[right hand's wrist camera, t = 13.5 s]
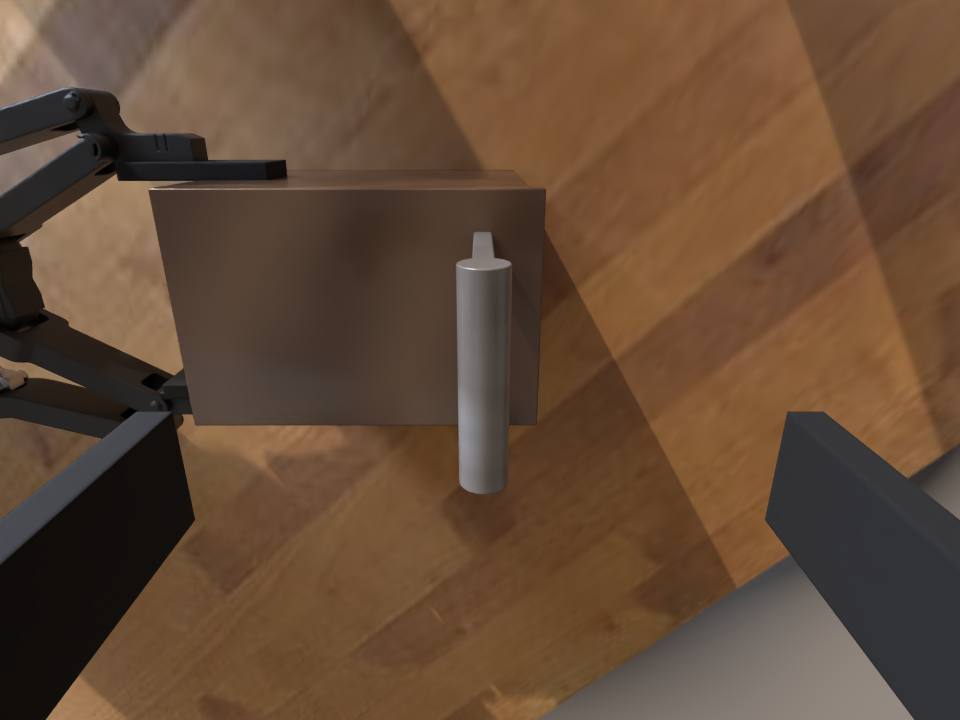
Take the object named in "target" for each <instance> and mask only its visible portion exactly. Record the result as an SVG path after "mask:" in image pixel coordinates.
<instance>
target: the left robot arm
mask: <svg viewBox="0 0 960 720" xmlns="http://www.w3.org/2000/svg"><path fill="white" fill-rule="evenodd" d="M119 113H120V105H119V102H118V100H117V99H116V97H115V96H114V95H112V94H111V93H109V92H106V91H98V90H90V89H81V88H73V87H67V88H62V89H59V90H56V91H53V92H50V93H47V94H44V95H41V96H38V97H34V98H31V99H28V100H25V101H22V102H19V103H16V104H13V105H10V106H7V107H4V108H1V109H0V155H3V154H6V153H9V152H12V151H15V150H18V149H21V148H25V147H28V146H31V145H34V144H37V143H40V142H44V141H47V140H50V139H53V138H56V137H59V136H62V135H66V134H69V133H72V132H75V131H78V130H80V131H81V133H82V134H79V135H76V136H77V137H78V138H84V139H82V140H81V141H79V142H78V143H76V144H75V145H73V146H72V147H71V148H69V149H68V150H66V151H65V152H63V153H62V154H60V155H59V156H57V157H56V158H55V159H53V160H52V161H50V162H49V163H47V164H46V165H44V166H43V167H42V168H40V169H39V170H37V171H36V172H34V173H33V174H31V175H30V176H29V177H27V178H26V179H24V180H23V181H21V182H20V183H18V184H17V185H16V186H14V187H13V188H11V189H10V190H8V191H7V192H5V193H4V194H3V195H1V196H0V356H1V357H3V358H6V359H8V360H10V361H13V362H19V363H20V362H29V363H33V364H35V365H37V366H39V367H42V368H44V369H46V370H48V371H50V372H53V373H55V374H57V375H59V376H62V377H64V378H66V379H68V380H71V381H73V382H75V383H77V384H79V385H82V386H84V387H86V388H84V387H80V386H76V385H71V384H67V383H63V382H59V381H54V380H49V379H42V378H28V374H27V373H26V372H25V371H23V370H19V371H17V372H16V371H13V370H8V369H5V368H2V367H1V366H0V418H15V419H19V420H24V421H28V422H33V423H37V424H41V425H46V426H50V427H54V428H59V429H63V430H67V431H72V432H76V433H80V434H85V435H89V436H94V437H98V438H102V439H103V438H104V437H105V436H107V435H108V434H109V433H111V432H112V431H113V430H114V429H116V428H117V427H118V426H119V425H121V424H122V423H123V422H124V421H126V420H127V419H128V418H129V417H131V416H132V415H133V414H134V413H136V412H173V416H174V421H175V426H176V430H177V429H178V428H179V427H180V426H181V425H182V424H183V421H184V419H183V416H182V414H193V412H192V407H191V402H190V397H189V392H188V387H187V382H186V376H185V371H184V369H182V370H181V371H180V372H178V373H177V374H176V375H175V376H174V375H172V374H169V373H167V372H165V371H163V370H161V369H159V368H157V367H154V366H152V365H150V364H148V363H146V362H144V361H141V360H139V359H137V358H135V357H133V356H131V355H129V354H126V353H124V352H122V351H120V350H118V349H116V348H114V347H111V346H109V345H107V344H105V343H103V342H101V341H99V340H96V339H94V338H92V337H90V336H88V335H86V334H83V333H81V332H79V331H77V330H75V329H73V328H71V327H69V325H68V321H67V320H65V319H64V318H62V317H59V316H57V315H55V314H53V313H51V312H49V311H47V310H45V309H43V308H45V306H44V303H43V299H42V296H41V293H40V291H39V289H38V287H37V285H36V284H35V282H34V280H33V278H32V260H31V256H30V253H29V249H28V247H22V246H21V244H20V243H19V242H20V241H22V240H23V239H25V238H26V237H28V236H29V235H31V234H32V233H34V232H35V231H37V230H38V229H40V228H41V227H42V226H43V225H42V223H44V222H45V221H47V220H48V219H50V218H51V217H53V216H54V215H56V214H57V213H59V212H60V211H62V210H63V209H65V208H66V207H68V206H69V205H71V204H72V203H74V202H75V201H77V200H78V199H80V198H81V197H83V196H84V195H86V194H87V193H89V192H90V191H92V190H93V189H94V188H96V187H97V186H99V185H100V184H102V183H103V182H105V181H106V180H108V179H109V178H111V177H112V176H114V175H115V174H117V178H118V181H199V180H271V179H276V178H281V177H285V176H287V168H286V160H208V156H207V149H206V143H205V138H203V137H200V136H198V135H195V134H141V133H136V132H133V131H132V130H130V129H129V128H128V127H127V126H126V125H125V124H124V122H123V120H122V119H121V117H120V115H119Z"/></svg>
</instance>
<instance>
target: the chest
mask: <svg viewBox="0 0 960 720" xmlns="http://www.w3.org/2000/svg"><path fill="white" fill-rule="evenodd" d="M168 186H527V185H526V184H525V183H524V182H523V180H522V179H521V178H520V177H519V176H518V175H517V174H516V173H515V172H514V171H513V170H287V176H285V177H281V178H276V179H271V180H199V181H193V182H187V183H181V184H175V185H168Z"/></svg>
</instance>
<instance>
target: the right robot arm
mask: <svg viewBox="0 0 960 720" xmlns="http://www.w3.org/2000/svg"><path fill="white" fill-rule="evenodd" d="M194 521H195V517H194V512H193V508H192V503H191V498H190V493H189V488H188V484H187V479H186V474H185V469H184V464H183V460H182V455H181V450H180V445H179V440H178V436H177V431H176V426H175V421H174V416H173V412H136V413H134V414H133V415H132V416H131V417H129V418H128V419H127V420H126V421H124V422H123V423H122V424H121V425H119V426H118V427H117V428H116V429H114V430H113V431H112V432H111V433H109V434H108V435H107V436H105V437H104V438H103V439H102V440H100V441H99V442H98V443H97V444H95V445H94V446H93V447H92V448H90V449H89V450H88V451H87V452H85V453H84V454H83V455H82V456H80V457H79V458H78V459H77V460H75V461H74V462H73V463H72V464H70V465H69V466H68V467H66V468H65V469H64V470H63V471H61V472H60V473H59V474H58V475H56V476H55V477H54V478H53V479H51V480H50V481H49V482H48V483H46V484H45V485H44V486H43V487H41V488H40V489H39V490H38V491H36V492H35V493H34V494H32V495H31V496H30V497H29V498H27V499H26V500H25V501H24V502H22V503H21V504H20V505H19V506H17V507H16V508H15V509H14V510H12V511H11V512H10V513H9V514H7V515H6V516H5V517H4V518H2V519H1V520H0V720H46V718H47V717H48V716H49V714H50V713H51V712H52V710H53V709H54V708H55V706H56V705H57V704H58V702H59V701H60V700H61V698H62V697H63V696H64V694H65V693H66V692H67V690H68V689H69V688H70V686H71V685H72V684H73V682H74V681H75V680H76V678H77V677H78V676H79V674H80V673H81V672H82V670H83V669H84V668H85V666H86V665H87V664H88V662H89V661H90V660H91V658H92V657H93V656H94V654H95V653H96V652H97V650H98V649H99V648H100V646H101V645H102V644H103V642H104V641H105V640H106V638H107V637H108V636H109V634H110V633H111V632H112V630H113V629H114V628H115V626H116V625H117V624H118V622H119V621H120V620H121V618H122V617H123V616H124V614H125V613H126V611H127V610H128V609H129V607H130V606H131V605H132V603H133V602H134V601H135V599H136V598H137V597H138V595H139V594H140V593H141V591H142V590H143V589H144V587H145V586H146V585H147V583H148V582H149V581H150V579H151V578H152V577H153V575H154V574H155V573H156V571H157V570H158V569H159V567H160V566H161V565H162V563H163V562H164V561H165V559H166V558H167V557H168V555H169V554H170V553H171V551H172V550H173V549H174V547H175V546H176V545H177V543H178V542H179V541H180V539H181V538H182V537H183V535H184V534H185V533H186V531H187V530H188V529H189V527H190V526H191V525H192V523H193V522H194ZM765 521H766V522H767V523H768V525H769V526H770V527H771V529H772V530H773V531H774V533H775V534H776V535H777V537H778V538H779V539H780V541H781V542H782V543H783V545H784V546H785V547H786V549H787V550H788V551H789V553H790V554H791V555H792V557H793V558H794V559H795V561H796V562H797V563H798V565H799V566H800V567H801V569H802V570H803V571H804V573H805V574H806V575H807V577H808V578H809V579H810V581H811V582H812V583H813V585H814V586H815V587H816V589H817V590H818V591H819V593H820V594H821V595H822V597H823V598H824V599H825V601H826V602H827V603H828V605H829V606H830V607H831V609H832V610H833V611H834V613H835V614H836V616H837V617H838V618H839V620H840V621H841V622H842V623H843V625H844V626H845V627H846V629H847V630H848V632H849V633H850V634H851V636H852V637H853V638H854V640H855V641H856V642H857V644H858V645H859V646H860V648H861V649H862V650H863V652H864V653H865V654H866V656H867V657H868V658H869V660H870V661H871V662H872V664H873V665H874V666H875V668H876V669H877V670H878V672H879V673H880V674H881V676H882V677H883V678H884V680H885V681H886V682H887V684H888V685H889V686H890V688H891V689H892V690H893V692H894V693H895V694H896V696H897V697H898V698H899V700H900V701H901V702H902V704H903V705H904V706H905V708H906V709H907V710H908V712H909V713H910V714H911V716H912V717H913V718H914V720H960V520H959V519H958V518H956V517H955V516H954V515H953V514H951V513H950V512H949V511H948V510H946V509H945V508H944V507H943V506H941V505H940V504H939V503H938V502H936V501H935V500H934V499H933V498H931V497H930V496H929V495H927V494H926V493H925V492H924V491H922V490H921V489H920V488H919V487H917V486H916V485H915V484H914V483H912V482H911V481H910V480H909V479H907V478H906V477H905V476H904V475H902V474H901V473H900V472H899V471H897V470H896V469H895V468H894V467H892V466H891V465H890V464H888V463H887V462H886V461H885V460H883V459H882V458H881V457H880V456H878V455H877V454H876V453H875V452H873V451H872V450H871V449H870V448H868V447H867V446H866V445H865V444H863V443H862V442H861V441H860V440H858V439H857V438H856V437H855V436H853V435H852V434H851V433H849V432H848V431H847V430H846V429H844V428H843V427H842V426H841V425H839V424H838V423H837V422H836V421H834V420H833V419H832V418H831V417H829V416H828V415H827V414H826V413H824V412H787V416H786V421H785V426H784V431H783V436H782V440H781V445H780V450H779V455H778V460H777V464H776V469H775V474H774V479H773V484H772V488H771V493H770V498H769V503H768V507H767V512H766V517H765Z"/></svg>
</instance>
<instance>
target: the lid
mask: <svg viewBox="0 0 960 720" xmlns="http://www.w3.org/2000/svg"><path fill="white" fill-rule="evenodd" d="M149 195H150V200H151V205H152V210H153V215H154V220H155V225H156V230H157V236H158V241H159V246H160V251H161V256H162V261H163V266H164V271H165V276H166V281H167V286H168V291H169V296H170V301H171V306H172V311H173V316H174V321H175V326H176V331H177V336H178V341H179V346H180V351H181V356H182V361H183V366H184V371H185V376H186V382H187V387H188V392H189V397H190V402H191V407H192V412H193V417H194V422H195V425H459V482H460V484H461V486H462V487H463V488H464V489H465V490H466V491H468V492H471V493H474V494H480V495H487V494H493V493H497V492H499V491H501V490H502V489H504V488H505V487H506V485H507V483H508V448H509V425H536V424H537V405H538V380H539V354H540V329H541V303H542V278H543V253H544V227H545V202H546V189H545V188H544V187H543V186H161V187H155V188H150V189H149Z"/></svg>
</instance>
